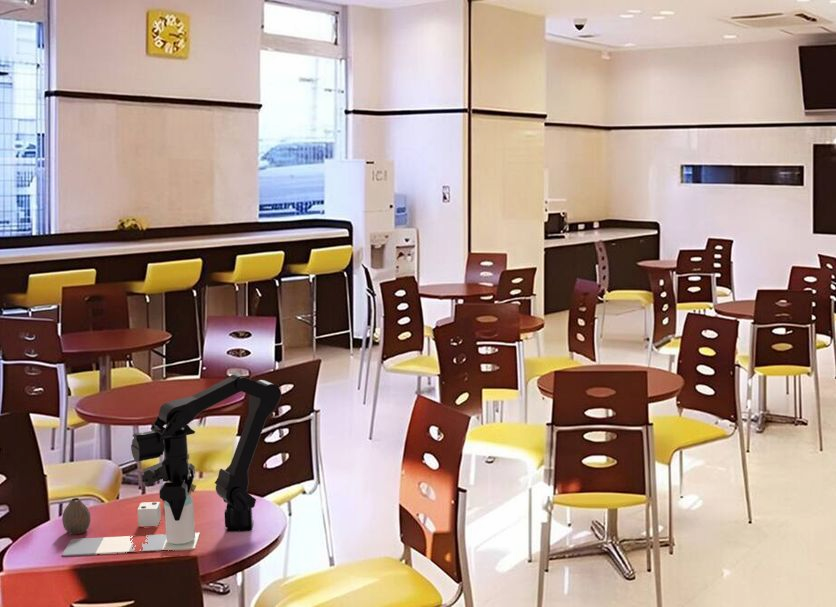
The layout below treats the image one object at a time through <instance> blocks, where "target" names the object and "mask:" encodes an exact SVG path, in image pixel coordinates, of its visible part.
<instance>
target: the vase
mask: <svg viewBox="0 0 836 607" xmlns="http://www.w3.org/2000/svg"><path fill="white" fill-rule="evenodd" d="M61 520H62V525H63V528H64V530H65V531H66V532H67V533H69V534H70V535H73V536H74V535H81V534H83V533H85V532H86V531H87V530H88V529H89V527H90V525H91V512H90V510H89V509H88V507H87V506H86V504H84V503H83V501H82V500H81V498H79V497H73V498H71V499H69V502H68V504H67V506H65V508H64V510H63V512H62V517H61Z"/></svg>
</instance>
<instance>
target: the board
mask: <svg viewBox="0 0 836 607" xmlns="http://www.w3.org/2000/svg"><path fill="white" fill-rule="evenodd" d="M200 534H201V532H195V539H194V540H192V541H191V542H190V543H188V544H184V545H173V544H171V543H169V542H167V539H166V533H165V534H145V535H146V538H147V539H148V540H147V539H146V540H145V542H148V544H147V543H145V544H143V543H142V547H143V550H142V551H156V550H157V551H156V552H161V551H160V550H168V551H167V552H170V551H169V550H173V552H174V550H175V551H189V550H190V551H192V550H196V547H197V544H198V541H199V537H200ZM130 536H131V537H130ZM133 536H134V535H126V536H105V537H104V536H102V537H87V538H86V537H85V538H83V537H82V538H71V540H70V541H69V542H68V544H67V546H66V548H65V549H64V551H63V552H62V554H61V557H76V556H79V557H80V556H96V555H97V554H100V555H117V553H118V554H128V553H127V552H132V551H134V550H135V548H134V547H136V545H135V546H134V547H133V544H134V543H133V542H132V540H133V539H132V540H131V541H130V538H132V537H133ZM147 536H148V537H147ZM131 542H132V543H131ZM132 547H133V549H132ZM139 551H141V549H140V550H139ZM125 552H126V553H125Z"/></svg>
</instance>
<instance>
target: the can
mask: <svg viewBox="0 0 836 607" xmlns="http://www.w3.org/2000/svg"><path fill="white" fill-rule="evenodd" d="M187 494H188V495H187V498H186V501H185V504H184V507H183V510H182V514H181V517H180V520H179V521H175V519H174V516H173V514H172V511H171V508H170V505H169V503H168V502H166V501H163V507H164V522H165V534H166V539H167V542H169V543H171V544H173V545H184V544H188V543H190V542H191V541H192V540H194V539H195V533H196V526H195V524H196V523H195V509H194V499H193V498H192V497H191V495H190V493H188V492H187Z"/></svg>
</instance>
